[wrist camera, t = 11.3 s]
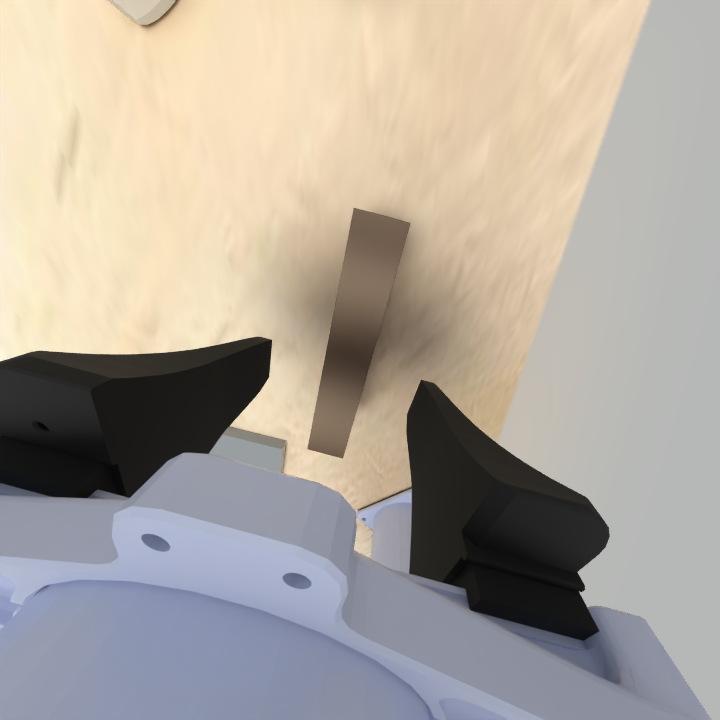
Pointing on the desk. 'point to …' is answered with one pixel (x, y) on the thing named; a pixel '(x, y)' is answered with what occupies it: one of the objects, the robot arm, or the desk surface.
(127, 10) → the eye dropper bottle
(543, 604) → the robot arm
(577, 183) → the desk surface
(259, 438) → the tile
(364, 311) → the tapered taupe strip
